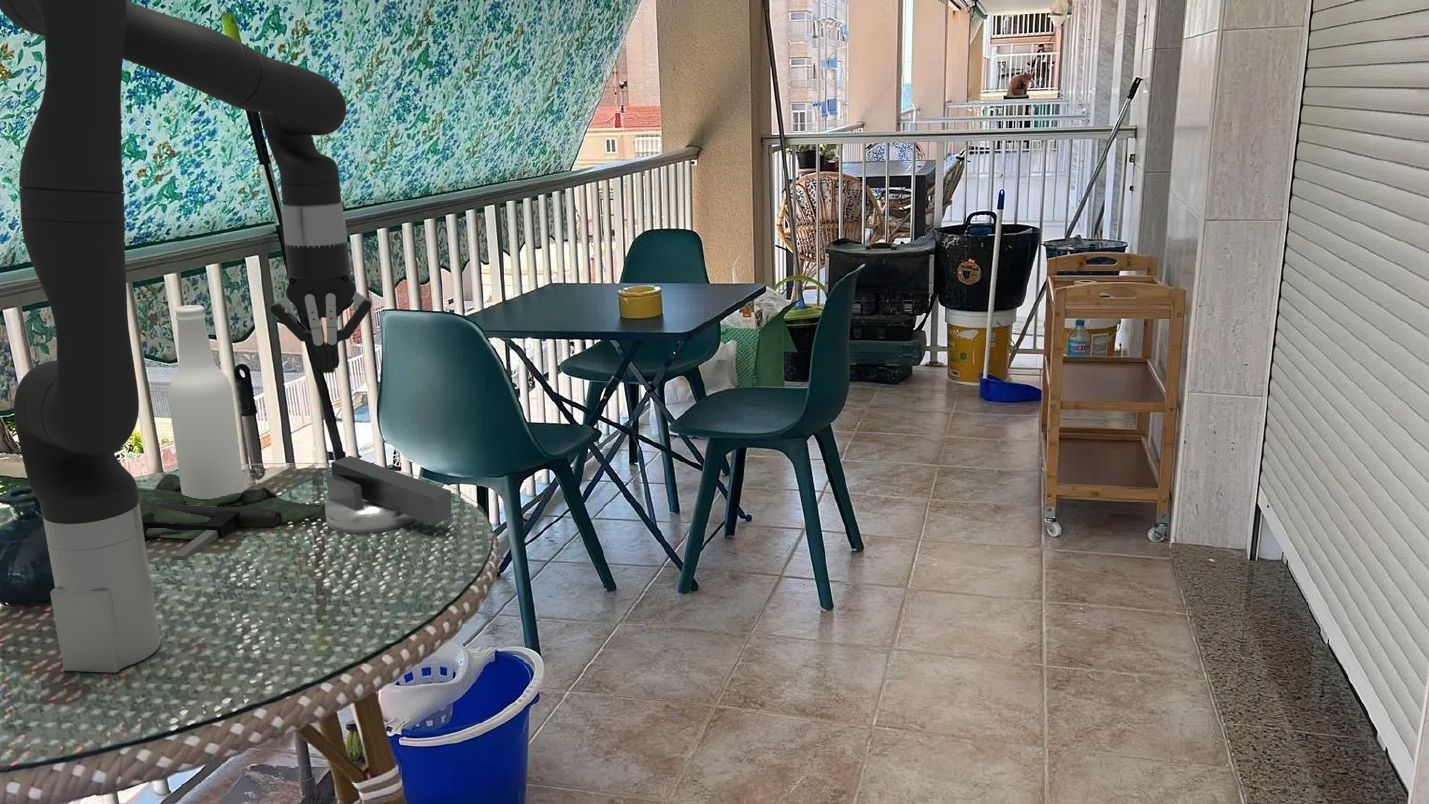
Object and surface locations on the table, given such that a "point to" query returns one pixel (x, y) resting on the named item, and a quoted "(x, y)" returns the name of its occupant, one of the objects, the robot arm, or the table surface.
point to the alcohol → (203, 414)
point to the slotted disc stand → (358, 510)
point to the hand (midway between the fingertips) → (329, 371)
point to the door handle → (213, 523)
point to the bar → (396, 490)
